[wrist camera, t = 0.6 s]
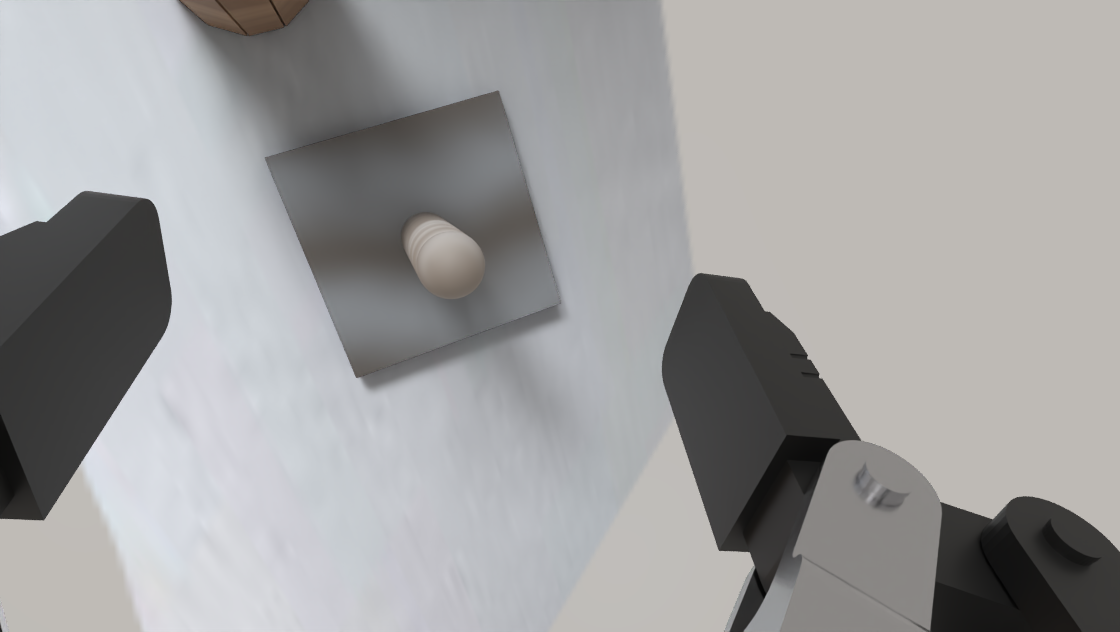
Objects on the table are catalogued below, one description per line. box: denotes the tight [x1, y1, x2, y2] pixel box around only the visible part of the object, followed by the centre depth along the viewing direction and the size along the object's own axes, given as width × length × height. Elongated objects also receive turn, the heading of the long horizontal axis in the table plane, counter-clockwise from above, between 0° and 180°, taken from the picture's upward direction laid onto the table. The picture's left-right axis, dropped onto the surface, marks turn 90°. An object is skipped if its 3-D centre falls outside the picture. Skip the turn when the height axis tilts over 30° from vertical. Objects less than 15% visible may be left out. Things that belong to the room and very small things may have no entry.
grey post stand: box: [265, 91, 561, 378], centre depth 27 cm, size 11×11×11 cm
